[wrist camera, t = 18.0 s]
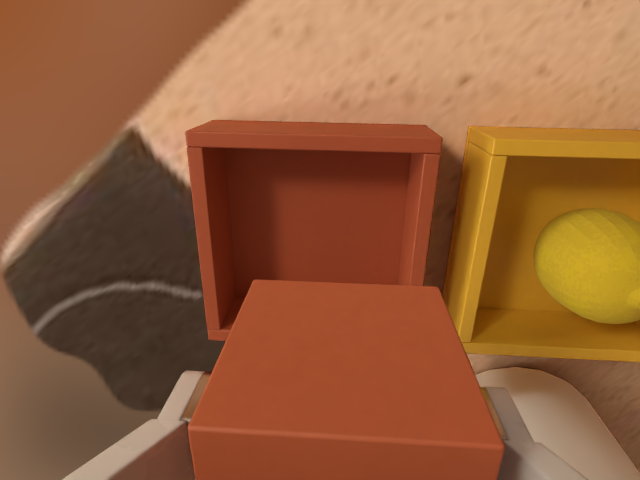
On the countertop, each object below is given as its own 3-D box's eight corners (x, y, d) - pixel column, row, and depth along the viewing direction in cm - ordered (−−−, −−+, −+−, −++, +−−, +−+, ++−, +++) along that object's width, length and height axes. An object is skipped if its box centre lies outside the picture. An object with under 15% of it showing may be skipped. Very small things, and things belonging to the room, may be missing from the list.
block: (252, 278, 11) (185, 428, 6) (438, 285, 11) (507, 448, 6) (261, 416, 13) (214, 607, 8) (419, 425, 13) (459, 627, 8)
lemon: (498, 261, 26) (557, 338, 19) (538, 180, 24) (622, 231, 16) (579, 283, 26) (669, 367, 19) (625, 204, 24) (748, 264, 17)
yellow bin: (468, 126, 23) (494, 138, 19) (696, 131, 23) (774, 145, 19) (439, 311, 28) (455, 353, 24) (626, 320, 28) (675, 364, 24)
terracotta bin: (212, 119, 24) (184, 130, 20) (426, 124, 23) (443, 137, 19) (228, 301, 29) (208, 340, 25) (404, 309, 28) (414, 351, 24)
